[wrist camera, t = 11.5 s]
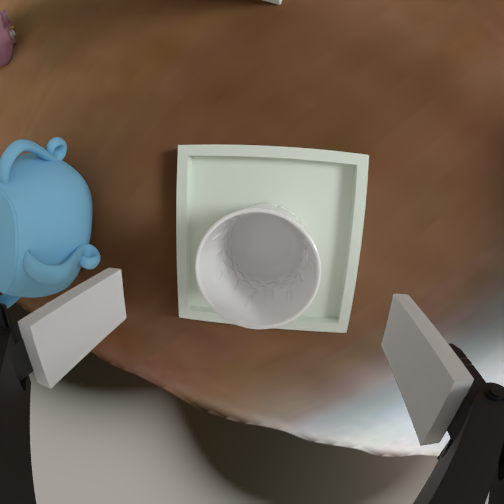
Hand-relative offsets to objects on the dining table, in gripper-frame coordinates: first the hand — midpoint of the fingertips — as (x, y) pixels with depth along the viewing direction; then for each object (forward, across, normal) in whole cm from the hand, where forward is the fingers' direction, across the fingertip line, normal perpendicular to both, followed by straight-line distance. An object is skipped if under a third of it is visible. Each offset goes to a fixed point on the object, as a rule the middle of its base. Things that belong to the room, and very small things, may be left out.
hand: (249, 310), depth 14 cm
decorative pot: (+16, -26, +1) cm, 30 cm away
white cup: (+15, 0, 0) cm, 15 cm away
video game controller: (+16, -42, +30) cm, 54 cm away
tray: (+16, 0, 0) cm, 16 cm away
